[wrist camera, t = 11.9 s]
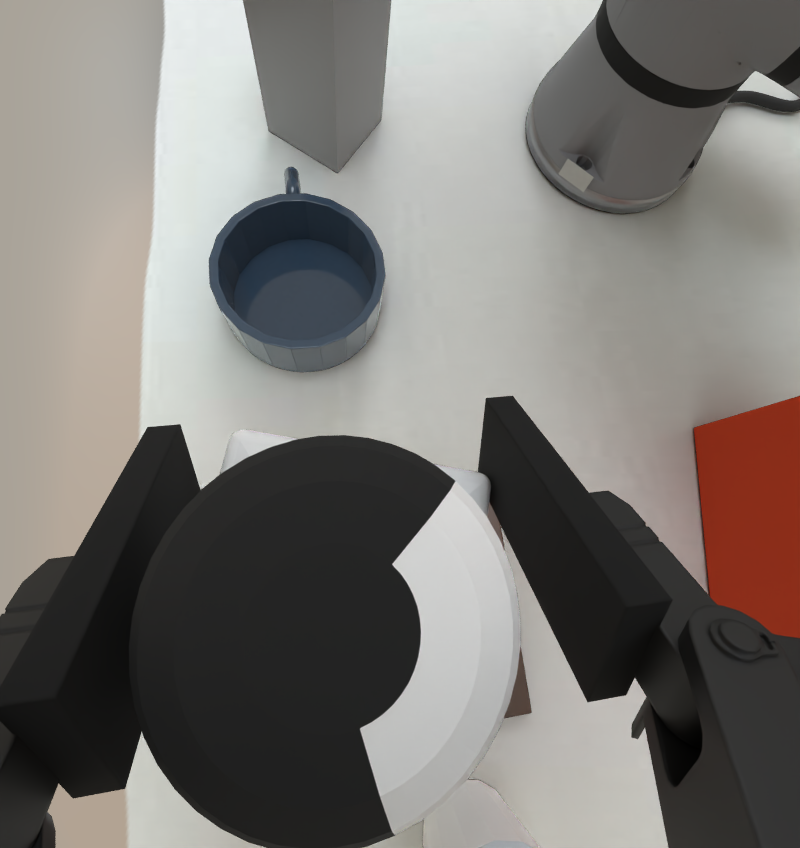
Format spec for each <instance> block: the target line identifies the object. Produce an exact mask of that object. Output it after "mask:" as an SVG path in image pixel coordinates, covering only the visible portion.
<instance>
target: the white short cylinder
mask: <svg viewBox="0 0 800 848" xmlns="http://www.w3.org/2000/svg"><path fill="white" fill-rule="evenodd" d="M422 841H423V848H540V846H539V845H538V844H537V843H536V841H535V840H534V839H533V837H532V836H531V835H530V834H529V832H528V831H527V830H526V828H525V827H524V826H523V825H522V823H521V822H520V821H519V820H518V818H517V817H516V816H515V814H514V813H513V812H512V811H511V809H510V808H509V807H508V805H507V804H506V803H505V802H504V800H503V799H502V798H501V796H500V795H499V794H498V793H497V791H496V790H495V789H494V788H492V787H490V786H489V785H487V784H485V783H483V782H482V781H480V780H468V779H467V780H466V781H465V782H464V783H463V784H462V785H461V787H460V788H459V789H458V790H457V791H456V792H455V793H454V794H453V795H452V796H451V797H450V798H449V799H448V800H447V801H446V802H445V803H444V804H442V805H441V806H440V807H438V808H437V809H436V810H435V811H433V812H432V813H431V814H429V815H428V816H427V817H426V818H424V826H423V839H422Z"/></svg>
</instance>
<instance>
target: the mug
mask: <svg viewBox="0 0 800 848" xmlns="http://www.w3.org/2000/svg"><path fill="white" fill-rule="evenodd" d="M284 175H285V188H286V194H279V195H275V196H272V197H269V198H265V199H262V200H259V201H256V202H253V203H252V204H250V205H249V206H247V207H246V208H244V209H243V210H241V211H240V212H238V213H237V214H235V215H234V216H233V217H231V219H230V220H229V221H228V223H227V224H226V225H225V226H224V228H223V229H222V230H221V231H220V233H219V234H218V235H217V237H216V240H215V243H214V246H213V249H212V252H211V255H210V258H209V279H210V287H211V289H212V292H213V294H214V297H215V299H216V301H217V304H218V306H219V308H220V310H221V312H222V314H223V315H224V317H225V319H226V320H227V322H228V324H229V326H230V327H231V329H232V331H233V333H234V334H235V336H236V337H237V338H238V340H239V341H240V342H241V343H242V344H243V345H244V346H245V348H246V349H247V350H248V351H249V352H250V353H252V354H253V355H254V356H256V357H257V358H259V359H260V360H262V361H264V362H266V363H268V364H269V365H272V366H275V367H277V368H280V369H284V370H289V371H296V372H313V371H320V370H324V369H328V368H332V367H334V366H336V365H339V364H341V363H343V362H345V361H346V360H348V359H350V358H351V357H352V356H354V355H355V354H356V353H357V352H358V351H360V350H361V349H362V348H363V347H364V345H365V344H366V343H367V341H368V340H369V339H370V337H371V335H372V333H373V332H374V330H375V328H376V326H377V322H378V317H379V313H380V308H381V303H382V296H383V289H384V282H385V268H384V260H383V253H382V250H381V248H380V246H379V244H378V242H377V240H376V238H375V236H374V234H373V232H372V231H371V229H370V228H369V227H368V226H367V225H366V224H365V223H364V222H363V221H362V220H361V219H360V218H359V217H358V216H357V215H356V214H355V213H354V212H352V211H351V210H349V209H347V208H345V207H343V206H342V205H340V204H338V203H336V202H334V201H333V200H331V199H326V198H322V197H318V196H314V195H310V194H301V188H300V181H299V174H298V171H297V170H296V169H295V168H294V167H288V168H287V169H286V170H285V173H284Z"/></svg>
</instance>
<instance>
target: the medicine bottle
mask: <svg viewBox="0 0 800 848" xmlns="http://www.w3.org/2000/svg"><path fill="white" fill-rule="evenodd" d="M490 491H491V484H490V480H489V479H488V477H487V476H486V475H484V474H482V473H480V472H475V471H470V470H464V469H459V468H453V467H448V466H443V465H437V464H432V463H431V462H429V461H427V460H425V459H424V458H422V457H420V456H419V455H417V454H415V453H413V452H410V451H408V450H405V449H403V448H400V447H398V446H396V445H393V444H390V443H386V442H382V441H378V440H374V439H370V438H363V437H354V436H346V435H340V436H316V437H310V438H303V439H296V438H290V437H285V436H279V435H274V434H269V433H263V432H258V431H252V430H247V429H246V430H238V431H236V432H234V433H233V434H232V435H231V437H230V439H229V442H228V445H227V449H226V453H225V457H224V460H223V464H222V468H221V472H220V475H219V476H218V477H216V478H215V479H214V480H213V481H211V482H210V483H209V484H208V485H207V486H205V487H204V488H203V489H202V490H201V491H200V492H199V493H198V494H197V495H196V496H195V497H194V498H193V499H192V500H191V501H190V502H189V503H188V504H187V505H186V506H185V507H184V508H183V509H182V511H181V512H180V513H179V515H178V516H177V518H176V519H175V520H174V522H173V523H172V524H171V526H170V527H169V528H168V530H167V531H166V532H165V534H164V536H163V538H162V539H161V541H160V543H159V545H158V547H157V548H156V550H155V552H154V554H153V556H152V557H151V559H150V562H149V564H148V567H147V569H146V572H145V574H144V577H143V579H142V582H141V584H140V587H139V591H138V595H137V599H136V603H135V607H134V611H133V615H132V623H131V631H130V640H129V678H130V684H131V690H132V696H133V702H134V708H135V711H136V714H137V717H138V720H139V724H140V727H141V730H142V733H143V736H144V738H145V740H146V742H147V744H148V746H149V749H150V751H151V753H152V755H153V757H154V759H155V761H156V763H157V765H158V766H159V767H160V769H161V770H162V772H163V773H164V774H165V776H166V777H167V779H168V780H169V782H170V783H171V784H172V786H173V787H174V789H175V790H176V791H177V792H178V793H179V794H180V795H181V796H182V797H183V798H184V799H185V800H186V801H187V802H188V803H189V804H190V805H191V806H192V807H193V808H194V809H195V810H196V811H197V812H198V813H200V814H201V815H203V816H204V817H205V818H207V819H208V820H210V821H211V822H212V823H214V824H215V825H216V826H218V827H219V828H221V829H222V830H225V831H227V832H229V833H231V834H233V835H235V836H237V837H239V838H241V839H243V840H245V841H247V842H250V843H253V844H256V845H260V846H263V847H266V848H362V847H366V846H369V845H372V844H374V843H377V842H380V841H382V840H385V839H387V838H390V837H393V836H395V835H397V834H399V833H400V832H402V831H404V830H406V829H408V828H409V827H411V826H413V825H415V824H416V823H418V822H420V821H422V820H423V819H424V818H426V817H427V816H428V815H429V814H431V813H432V812H433V811H435V810H436V809H437V808H438V807H440V806H441V805H442V804H444V803H445V802H446V801H447V800H448V799H449V798H450V797H451V796H452V795H453V794H454V793H455V792H456V791H457V790H458V789H459V788H460V787H461V785H462V784H463V783H464V782H465V781H466V780H467V779H468V778H469V776H470V775H471V774H472V772H473V771H474V770H475V768H476V767H477V766H478V764H479V763H480V761H481V760H482V759H483V757H484V756H485V754H486V752H487V751H488V749H489V747H490V745H491V743H492V742H493V740H494V738H495V736H496V734H497V732H498V731H499V729H500V726H501V723H502V721H503V718H504V716H505V713H506V711H507V708H508V706H509V703H510V700H511V696H512V692H513V688H514V684H515V680H516V676H517V670H518V662H519V653H520V611H519V604H518V596H517V590H516V586H515V582H514V578H513V574H512V570H511V566H510V563H509V561H508V558H507V556H506V554H505V551H504V549H503V546H502V544H501V541H500V539H499V537H498V536H497V534H496V532H495V530H494V529H493V527H492V525H491V523H490V521H489V520H488V518H487V517H488V509H489V500H490Z"/></svg>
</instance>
